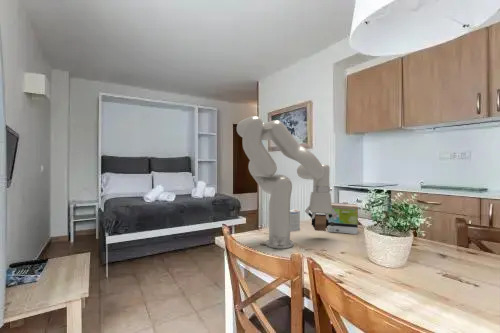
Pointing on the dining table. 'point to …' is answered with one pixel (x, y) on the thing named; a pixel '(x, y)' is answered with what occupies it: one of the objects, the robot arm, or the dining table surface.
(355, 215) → the tea box
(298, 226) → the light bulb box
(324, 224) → the walnut block
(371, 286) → the dining table surface
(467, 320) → the dining table surface
